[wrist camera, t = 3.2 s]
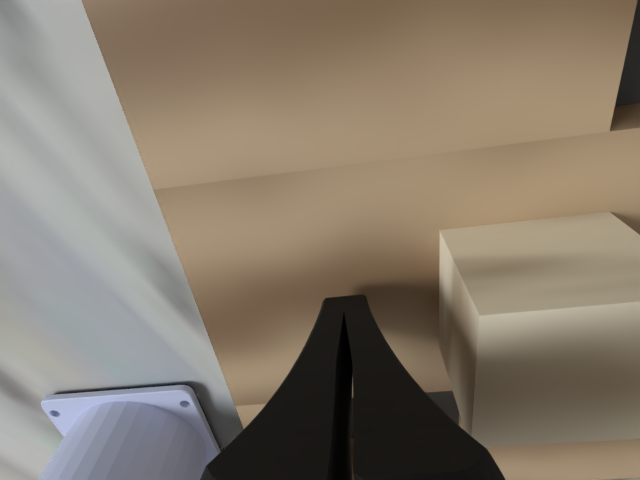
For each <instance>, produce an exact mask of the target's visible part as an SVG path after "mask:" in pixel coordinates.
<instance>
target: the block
mask: <svg viewBox="0 0 640 480" xmlns="http://www.w3.org/2000/svg"><path fill="white" fill-rule="evenodd" d="M439 348H440V351H441V354H442V358H443V361H444V364H445V367H446V371H447V374H448V377H449V380H450V384H451V387H452V390H453V393H454V397H455V400H456V403H457V406H458V410H459V413H460V416H461V419H462V423H463V426H464V429H465V431H466V432H467V433H468V434H469V435H470V436H472V437H473V438H474V439H475V440H477V441H478V442H479V443H480V444H481V445H483V446H484V447H503V446H520V445H538V444H556V443H573V442H591V441H608V440H626V439H640V235H639V234H638V233H637V232H635V231H634V230H633V229H631V228H630V227H629V226H628V225H626V224H625V223H624V222H622V221H621V220H620V219H618V218H617V217H616V216H614V215H613V214H612V213H610V212H603V213H594V214H585V215H576V216H566V217H557V218H548V219H539V220H530V221H521V222H511V223H502V224H493V225H484V226H475V227H466V228H456V229H447V230H440V260H439Z"/></svg>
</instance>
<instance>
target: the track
mask: <svg viewBox="0 0 640 480" xmlns="http://www.w3.org/2000/svg"><path fill="white" fill-rule="evenodd" d="M82 3H83V5H84V8H85V11H86V13H87V16H88V19H89V21H90V24H91V27H92V29H93V32H94V34H95V37H96V40H97V42H98V45H99V48H100V50H101V53H102V56H103V58H104V61H105V64H106V66H107V69H108V71H109V74H110V77H111V79H112V82H113V85H114V87H115V90H116V93H117V95H118V98H119V101H120V103H121V106H122V108H123V111H124V114H125V116H126V119H127V122H128V124H129V127H130V130H131V132H132V135H133V138H134V140H135V143H136V145H137V148H138V151H139V153H140V156H141V159H142V161H143V164H144V167H145V169H146V172H147V175H148V177H149V180H150V182H151V185H152V188H153V190H154V193H155V196H156V198H157V201H158V204H159V206H160V209H161V212H162V214H163V217H164V219H165V222H166V225H167V227H168V230H169V233H170V235H171V238H172V241H173V243H174V246H175V249H176V251H177V254H178V256H179V259H180V262H181V264H182V267H183V270H184V272H185V275H186V278H187V280H188V283H189V286H190V288H191V291H192V293H193V296H194V299H195V301H196V304H197V307H198V309H199V312H200V315H201V317H202V320H203V323H204V325H205V328H206V330H207V333H208V336H209V338H210V341H211V344H212V346H213V349H214V352H215V354H216V357H217V359H218V362H219V365H220V367H221V370H222V373H223V375H224V378H225V381H226V383H227V386H228V389H229V391H230V394H231V396H232V399H233V402H234V404H235V407H236V410H237V412H238V415H239V418H240V420H241V423H242V426H243V428H244V429H245V428H246V427H247V425H248V424H249V423H250V422H251V421H252V420H253V419H254V418H255V417H256V416H257V415H258V413H259V412H260V411H261V410H262V409H263V407H264V406H265V405H266V404H267V402H268V401H269V400H270V398H271V397H272V396H273V395H274V393H275V392H276V391H277V389H278V388H279V387H280V385H281V384H282V382H283V381H284V379H285V378H286V376H287V375H288V373H289V372H290V370H291V368H292V367H293V365H294V364H295V362H296V360H297V358H298V356H299V355H300V353H301V351H302V349H303V347H304V346H305V344H306V342H307V340H308V337H309V335H310V333H311V331H312V329H313V327H314V324H315V322H316V320H317V317H318V315H319V312H320V309H321V306H322V302H323V300H324V299H325V298H329V297H340V296H350V295H360V294H363V295H365V296H366V297H367V302H368V305H369V308H370V310H371V313H372V315H373V317H374V319H375V321H376V323H377V325H378V327H379V329H380V331H381V333H382V334H383V336H384V338H385V340H386V341H387V343H388V344H389V346H390V348H391V349H392V351H393V352H394V353H395V355H396V356H397V358H398V359H399V361H400V362H401V363H402V365H403V366H404V368H405V369H406V370H407V371H408V373H409V374H410V375H411V376H412V378H413V379H414V380H415V381H416V382H417V384H418V385H419V386H420V387H421V388H422V389H423V391H424V392H425V393H426V394H427V395H428V396H429V397H430V398H431V399H432V400H433V401H434V402H435V403H436V404H437V405H438V406H439V407H440V408H441V409H442V410H443V411H444V412H445V413H446V414H447V415H448V416H449V417H450V418H451V419H452V420H453V421H454V422H456V423H457V424H458V425H459V426H460V427H461V428H462V429H463V430H465V429H464V426H463V423H462V419H461V416H460V413H459V410H458V406H457V403H456V400H455V397H454V393H453V390H452V387H451V384H450V380H449V377H448V374H447V371H446V367H445V364H444V361H443V358H442V354H441V351H440V348H439V260H440V230H447V229H456V228H466V227H475V226H484V225H493V224H502V223H511V222H521V221H530V220H539V219H548V218H557V217H566V216H576V215H585V214H594V213H603V212H610V213H612V214H613V215H614V216H616V217H617V218H618V219H620V220H621V221H622V222H624V223H625V224H626V225H628V226H629V227H630V228H631V229H633V230H634V231H635V232H637V233H638V234H639V235H640V0H82ZM353 444H354V413H353V382H352V409H351V466H352V480H354V475H353ZM485 448H486V449H487V450H488V451H489V453H490V454H491V456H492V457H493V459H494V460H495V462H496V464H497V465H498V467H499V469H500V470H501V472H502V474H503V476H504V478H505V480H602V479H623V478H640V439H626V440H608V441H591V442H573V443H556V444H538V445H520V446H503V447H485Z"/></svg>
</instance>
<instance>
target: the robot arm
mask: <svg viewBox="0 0 640 480" xmlns="http://www.w3.org/2000/svg"><path fill="white" fill-rule="evenodd" d="M352 382H353V413H354V444H353V475H354V480H505V478H504V476H503V474H502V472H501V470H500V469H499V467H498V465H497V464H496V462H495V460H494V459H493V457H492V456H491V454H490V453H489V451H488V450H487V449H486V448H485V447H484V446H483V445H481V444H480V443H479V442H478V441H477V440H475V439H474V438H473V437H472V436H470V435H469V434H468V433H467V432H466V431H465V430H463V429H462V428H461V427H460V426H459V425H458V424H457V423H456V422H454V421H453V420H452V419H451V418H450V417H449V416H448V415H447V414H446V413H445V412H444V411H443V410H442V409H441V408H440V407H439V406H438V405H437V404H436V403H435V402H434V401H433V400H432V399H431V398H430V397H429V396H428V395H427V394H426V393H425V392H424V391H423V389H422V388H421V387H420V386H419V385H418V384H417V382H416V381H415V380H414V379H413V378H412V376H411V375H410V374H409V373H408V371H407V370H406V369H405V368H404V366H403V365H402V363H401V362H400V361H399V359H398V358H397V356H396V355H395V353H394V352H393V351H392V349H391V348H390V346H389V344H388V343H387V341H386V340H385V338H384V336H383V334H382V333H381V331H380V329H379V327H378V325H377V323H376V321H375V319H374V317H373V315H372V313H371V310H370V308H369V305H368V302H367V297H366V296H365V295H363V294H360V295H350V296H340V297H329V298H325V299H324V300H323V302H322V306H321V309H320V312H319V315H318V317H317V320H316V322H315V324H314V327H313V329H312V331H311V333H310V335H309V337H308V340H307V342H306V344H305V346H304V347H303V349H302V351H301V353H300V355H299V356H298V358H297V360H296V362H295V364H294V365H293V367H292V368H291V370H290V372H289V373H288V375H287V376H286V378H285V379H284V381H283V382H282V384H281V385H280V387H279V388H278V389H277V391H276V392H275V393H274V395H273V396H272V397H271V398H270V400H269V401H268V402H267V404H266V405H265V406H264V407H263V409H262V410H261V411H260V412H259V413H258V415H257V416H256V417H255V418H254V419H253V420H252V421H251V422H250V423H249V424H248V425H247V427H246V428H245V429H244V430H243V431H242V432H241V433H240V434H239V435H238V436H237V437H236V438H235V439H234V440H233V441H232V442H231V443H230V444H229V445H228V446H227V447H226V448H225V449H224V450H223V451H220V449H219V447H218V445H217V442H216V440H215V438H214V436H213V433H212V431H211V429H210V427H209V424H208V422H207V420H206V418H205V415H204V413H203V411H202V409H201V406H200V404H199V402H198V399H197V397H196V395H195V393H194V391H193V389H192V388H191V387H189V386H187V385H173V386H160V387H147V388H134V389H121V390H108V391H95V392H82V393H69V394H56V395H48V396H46V397H45V398H44V399H43V401H42V402H41V406H42V408H43V410H44V411H45V412H46V414H47V415H48V416H49V418H50V419H51V420H52V422H53V423H54V425H55V426H56V427H57V429H58V430H59V431H60V433H61V434H62V435H63V437H64V438H63V440H62V442H61V443H60V445H59V446H58V448H57V450H56V451H55V453H54V454H53V456H52V458H51V459H50V461H49V463H48V464H47V466H46V467H45V469H44V471H43V472H42V474H41V475H40V477H39V479H38V480H352V466H351V409H352Z"/></svg>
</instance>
